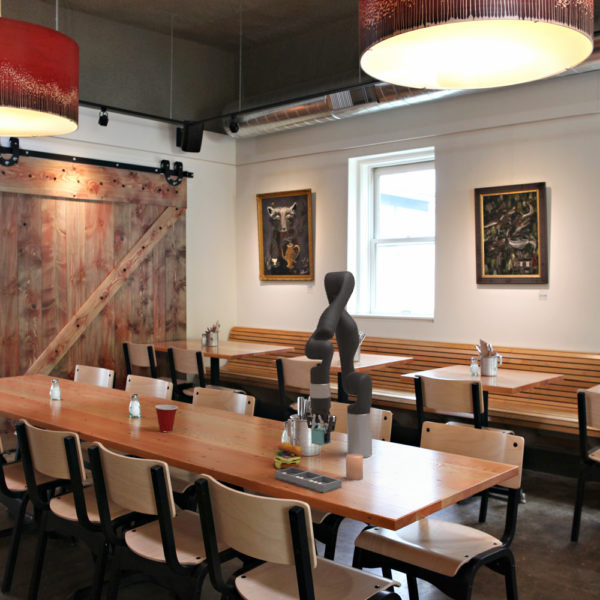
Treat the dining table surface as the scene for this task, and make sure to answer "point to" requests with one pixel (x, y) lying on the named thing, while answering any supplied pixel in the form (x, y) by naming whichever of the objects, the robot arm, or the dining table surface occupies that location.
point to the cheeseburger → (288, 456)
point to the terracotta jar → (354, 467)
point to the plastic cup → (166, 416)
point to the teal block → (318, 436)
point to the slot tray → (308, 479)
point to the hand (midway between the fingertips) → (321, 441)
